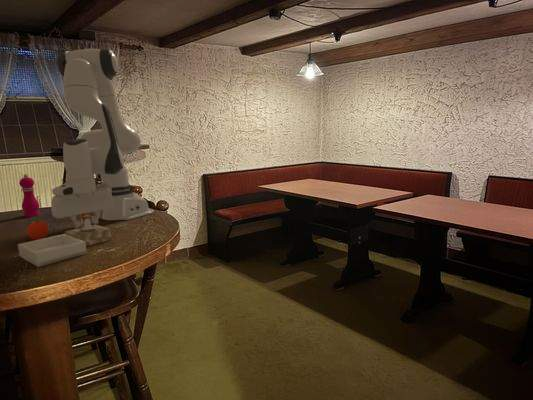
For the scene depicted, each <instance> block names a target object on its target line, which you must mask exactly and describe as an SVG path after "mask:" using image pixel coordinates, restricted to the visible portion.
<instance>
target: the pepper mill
mask: <svg viewBox="0 0 533 400" xmlns="http://www.w3.org/2000/svg"><path fill="white" fill-rule="evenodd" d="M18 184H19V186H20V187H21V191H22V193H23V199H22V203H21V209H22V210H23V211H24V213H23V216H24V217H25V218H33V217H36V216H37V217H38V216H40V211H39V209H40V203H39V201H38V200H37V198H36V197H35V194H34V191H35V188H34V185H35V180H34V179H33V178H32V177H29V174H28V173H24V174H23V177H22V178H20V180H19V183H18Z"/></svg>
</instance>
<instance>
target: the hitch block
mask: <svg viewBox="0 0 533 400" xmlns="http://www.w3.org/2000/svg"><path fill="white" fill-rule="evenodd" d="M91 225H92V231H88V232H83V229H82V227H80V228H74V229H71V230H70V229H69V230H66V231H64V234H66V235H69V236H71V237H74V238H77V239H80V240H82V241H85V244H86V247H88V246H92V245H97V244H100V243H105V242H108V241H111V240H112V236H111V235H112V233H111V228H109V227H105V226H101V225H99V224H91Z"/></svg>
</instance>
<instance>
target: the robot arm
mask: <svg viewBox="0 0 533 400" xmlns="http://www.w3.org/2000/svg"><path fill="white" fill-rule="evenodd" d="M56 67H57V71H58V72H59V74H60V75H61V77H63V93H64V101H65V104H66V106H67V107H68V108H69V109H70V110H72V111H73V112H74V113H76V114H79V115H81V116H84V117H87V118H90V119H93V120H95V121H97V122H98V123H99V124H100V126H101V129H93V130H88V131H85V132H83V133H82V134H81V137H80V138H72V139H67V140H65V141H64V142H63V148H62V149H63V150H62V151H63V155H62V157H63V166H64V169H65V171H66V175H65V176H66V177H65V180H66V181H65V182H64V183H62V184H60V185H58V186H56V187H54V188H52V189H51V192H52V194H53V196H52V198H51V202H50V205H51V206H50V207H51V215H52V217H54V218H55V219H64V218H65V219H66V218H68V217H69V218H70V220H71V221H72V222H73V223H74V229H78V228H82V221H81V222H80V221H78V220H77V218H78V216H81V214H86V213H90V214H91V213H93V214H94V217H93V218H91V225H99V218H100V216H101V212H102V217H101V219H102V220H105V221H120V220H121V221H124V220H126V221H127V220H128V221H129V220H133V219H136V218H139V217H140V218H141V217H144V216H147V215H150V214H155V210H154V209H152V208H149V204H148V202H147V199H146V198H144V197H142V196H140V195H139V194H137V193H136V192H135V191H136V190H137V189H138V185H135V184H134V185H131V184H130V183H129V174H128V168H127V167H126V165H125V160H124V156H123V155H128V154H132V153H135V152H138V150H139V149H140V147H141V137H140V136H141V135H139V133H138V132H137V131H136V130H135V129H133V128H131V126H129V125H128V124H127V122H126V121H125V120H124V119H123V116H122V115H121V112H120V108H119V104H118V99H117V93H116V90H115V85H114V82H113V78H114V77H115V76H116V75H117V74H118V72H119V61H118V58H117V55H116V54H115V52H114V51H113V50H111V49H109V48H103V47H102V48H84V49H77V50H76V49H75V50H70V51H69V50H66V51H62V52H60V53H59V54H58V55H57V57H56ZM95 175H100V179H101V183H100V184H96V178H95V177H96V176H95Z"/></svg>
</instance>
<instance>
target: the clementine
mask: <svg viewBox="0 0 533 400" xmlns="http://www.w3.org/2000/svg"><path fill="white" fill-rule="evenodd" d="M49 232H50V228H49V226H48V224H47V223H46V222H45V221H42V220H33V221H30V222H28V223H27V224H26V233H27V235H28V237H30V239H32V240H33V241H35V240H39V239H44V238H47V236H48V235H49Z"/></svg>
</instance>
